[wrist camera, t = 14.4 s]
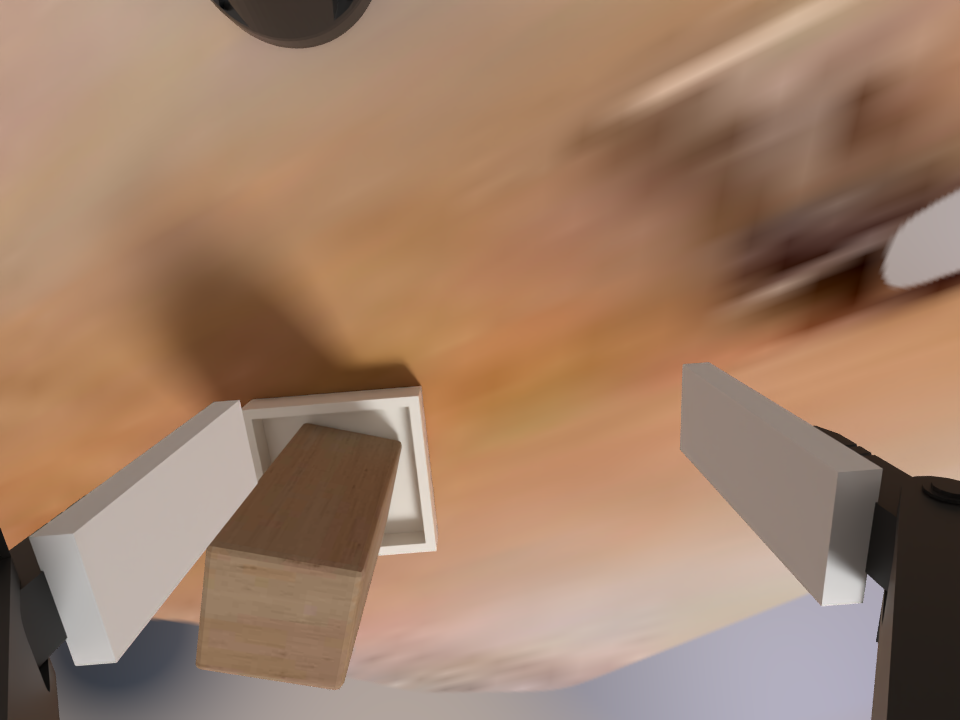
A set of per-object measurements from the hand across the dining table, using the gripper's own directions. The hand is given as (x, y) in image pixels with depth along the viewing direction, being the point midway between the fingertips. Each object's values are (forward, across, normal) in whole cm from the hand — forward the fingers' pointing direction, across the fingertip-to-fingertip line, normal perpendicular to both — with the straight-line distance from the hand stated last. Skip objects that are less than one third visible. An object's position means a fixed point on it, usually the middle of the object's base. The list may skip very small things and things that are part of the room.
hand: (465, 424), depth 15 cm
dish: (+35, -14, -18) cm, 42 cm away
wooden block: (+34, -14, -18) cm, 41 cm away
